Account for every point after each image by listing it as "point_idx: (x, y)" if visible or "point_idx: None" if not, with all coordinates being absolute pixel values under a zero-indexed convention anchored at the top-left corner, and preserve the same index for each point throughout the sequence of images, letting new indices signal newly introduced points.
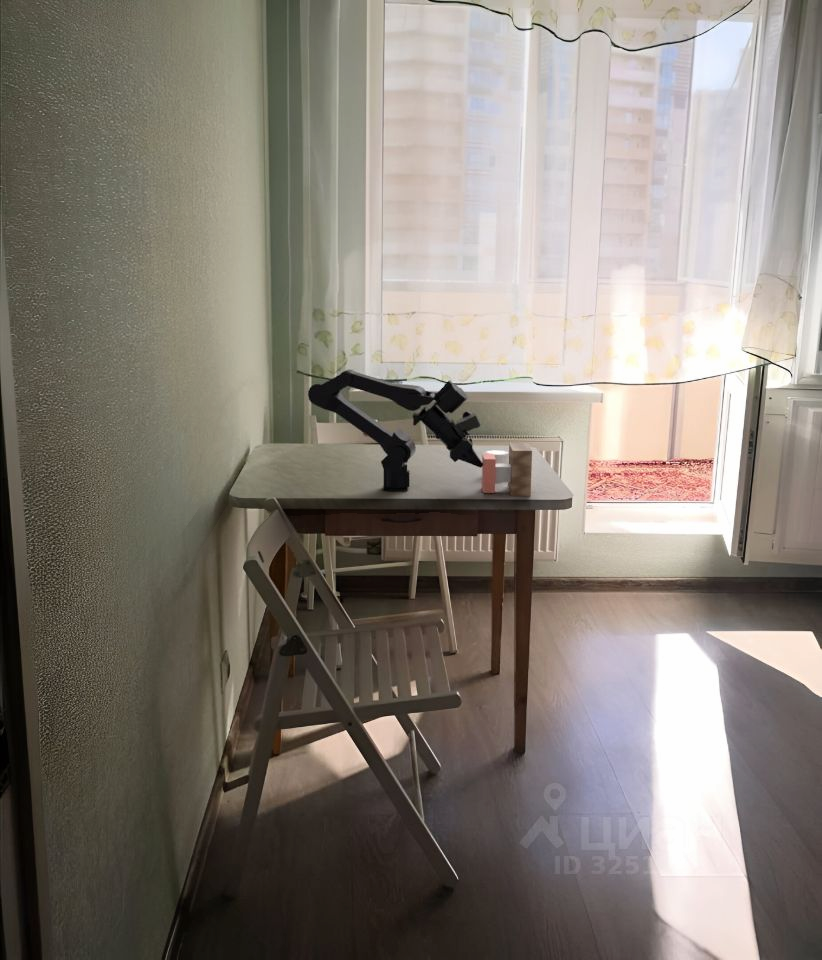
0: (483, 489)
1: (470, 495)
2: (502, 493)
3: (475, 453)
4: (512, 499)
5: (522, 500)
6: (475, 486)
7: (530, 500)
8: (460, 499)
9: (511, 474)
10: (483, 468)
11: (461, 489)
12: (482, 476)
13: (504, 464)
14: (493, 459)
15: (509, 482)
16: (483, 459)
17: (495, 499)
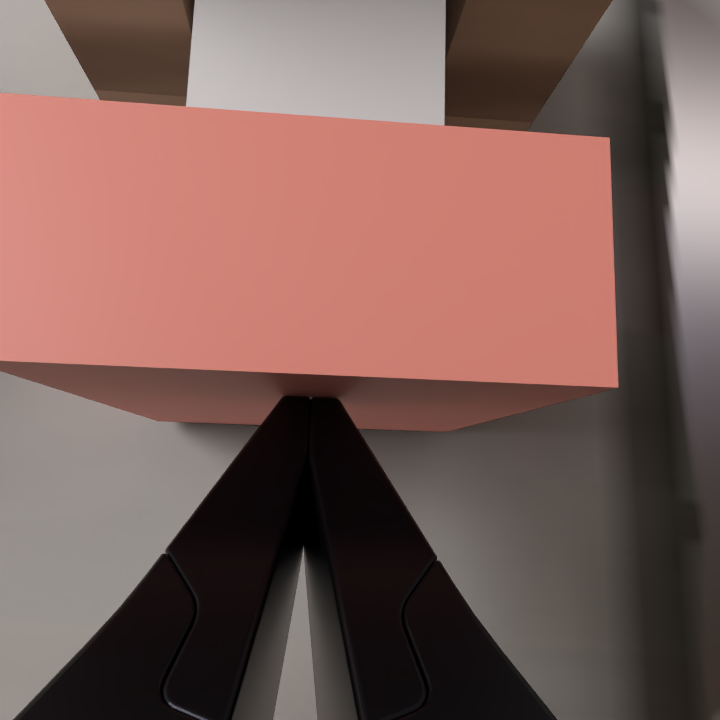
0: (455, 429)
1: (486, 572)
2: None
3: (273, 583)
4: (617, 180)
5: (645, 102)
6: (95, 486)
7: (641, 37)
8: (649, 693)
9: (523, 39)
10: (436, 406)
11: None
12: (237, 413)
13: (259, 33)
14: (604, 184)
15: None
16: (401, 385)
17: (627, 334)
